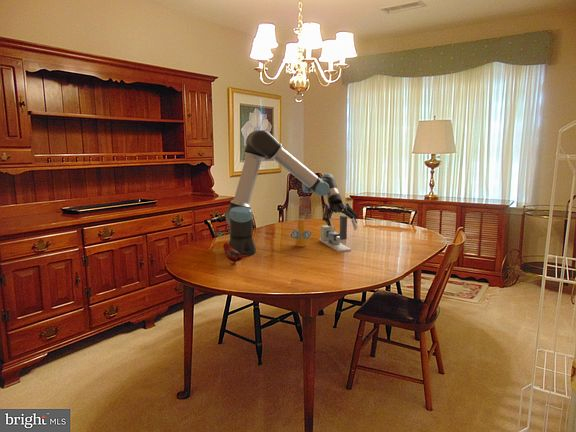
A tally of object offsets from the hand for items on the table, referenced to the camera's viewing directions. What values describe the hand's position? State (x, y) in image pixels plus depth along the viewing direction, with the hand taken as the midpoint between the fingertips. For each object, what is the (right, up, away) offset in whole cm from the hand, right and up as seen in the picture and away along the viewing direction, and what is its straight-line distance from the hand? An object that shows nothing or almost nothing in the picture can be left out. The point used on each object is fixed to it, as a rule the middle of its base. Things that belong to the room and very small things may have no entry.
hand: (344, 229), depth 223 cm
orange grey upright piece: (-23, -9, +12) cm, 27 cm away
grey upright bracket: (-3, -6, +8) cm, 10 cm away
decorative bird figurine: (-54, -16, -26) cm, 62 cm away
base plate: (-4, -9, +13) cm, 16 cm away
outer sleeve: (-4, -8, +13) cm, 16 cm away
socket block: (-7, -6, +22) cm, 24 cm away
